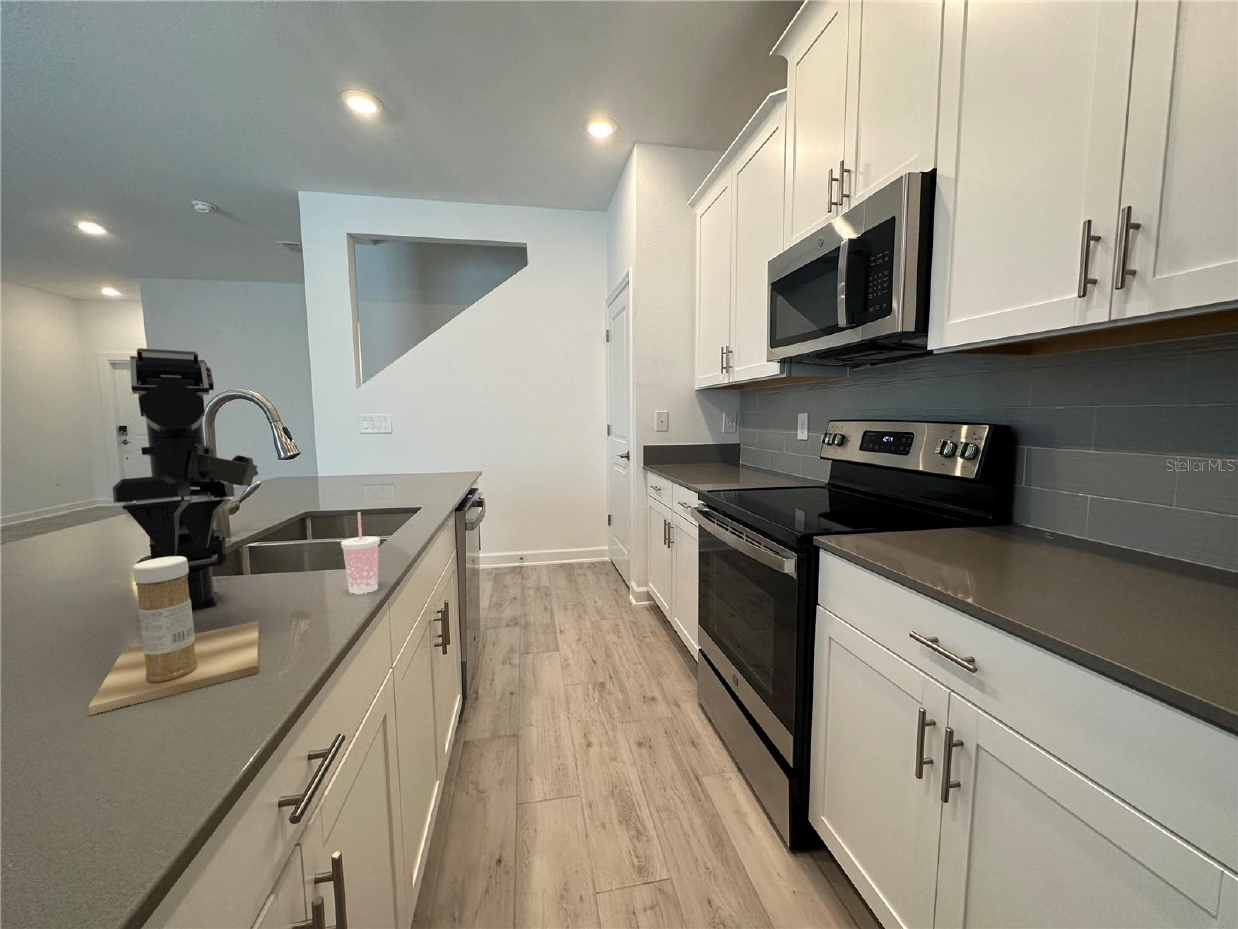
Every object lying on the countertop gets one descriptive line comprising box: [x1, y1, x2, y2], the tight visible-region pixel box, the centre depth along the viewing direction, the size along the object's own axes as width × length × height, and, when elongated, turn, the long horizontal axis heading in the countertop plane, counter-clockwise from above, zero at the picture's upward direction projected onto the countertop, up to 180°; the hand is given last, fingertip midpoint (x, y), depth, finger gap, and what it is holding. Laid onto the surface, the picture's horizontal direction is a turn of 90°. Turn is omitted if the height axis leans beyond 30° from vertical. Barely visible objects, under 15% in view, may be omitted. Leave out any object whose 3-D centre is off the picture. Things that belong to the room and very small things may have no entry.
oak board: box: [88, 620, 260, 716], centre depth 61 cm, size 16×14×1 cm
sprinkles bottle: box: [132, 556, 197, 682], centre depth 56 cm, size 5×5×13 cm
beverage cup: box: [340, 511, 381, 595], centre depth 86 cm, size 6×6×14 cm
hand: (187, 552), depth 67 cm, fingers open, 9 cm apart
